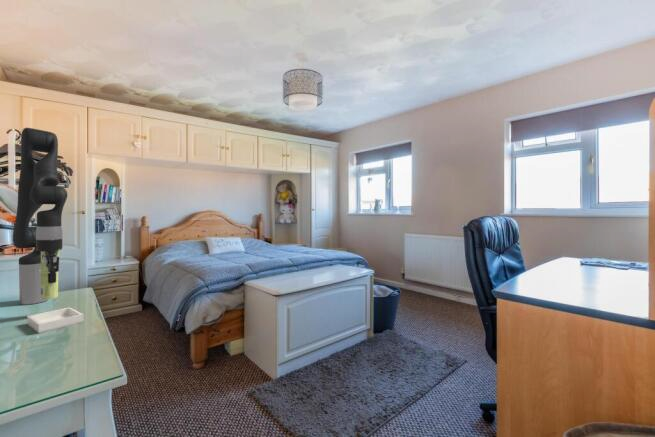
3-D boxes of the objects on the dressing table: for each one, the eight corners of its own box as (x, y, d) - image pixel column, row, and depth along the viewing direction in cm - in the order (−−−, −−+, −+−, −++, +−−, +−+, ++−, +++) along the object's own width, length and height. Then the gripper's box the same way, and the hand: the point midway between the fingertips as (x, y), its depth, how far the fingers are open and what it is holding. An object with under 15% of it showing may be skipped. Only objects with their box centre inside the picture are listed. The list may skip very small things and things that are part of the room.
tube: (60, 295, 121) (60, 246, 121) (59, 298, 117) (59, 248, 117) (41, 297, 118) (40, 247, 117) (39, 300, 114) (39, 249, 113)
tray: (27, 324, 108) (27, 316, 108) (70, 314, 118) (69, 307, 117) (38, 333, 100) (38, 324, 100) (83, 322, 110) (83, 314, 110)
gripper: (31, 237, 118) (31, 280, 118) (41, 240, 109) (42, 286, 110) (56, 236, 124) (56, 277, 124) (68, 238, 116) (68, 282, 116)
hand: (49, 281), depth 117 cm, fingers closed on tube, 5 cm apart
